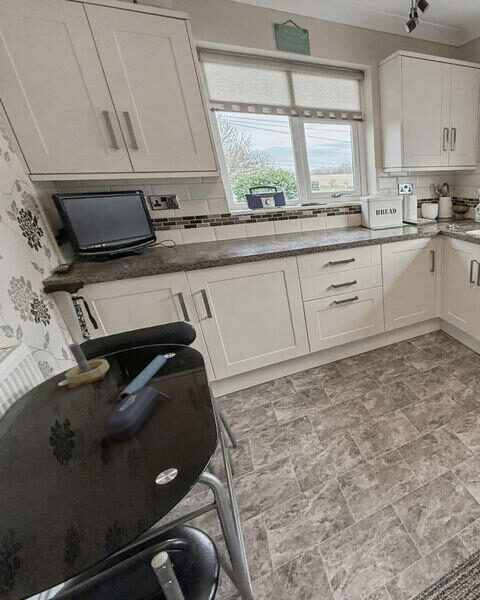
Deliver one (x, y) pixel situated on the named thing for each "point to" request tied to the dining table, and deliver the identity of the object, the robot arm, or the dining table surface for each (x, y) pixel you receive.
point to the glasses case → (132, 413)
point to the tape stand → (82, 365)
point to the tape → (74, 378)
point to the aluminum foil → (143, 376)
